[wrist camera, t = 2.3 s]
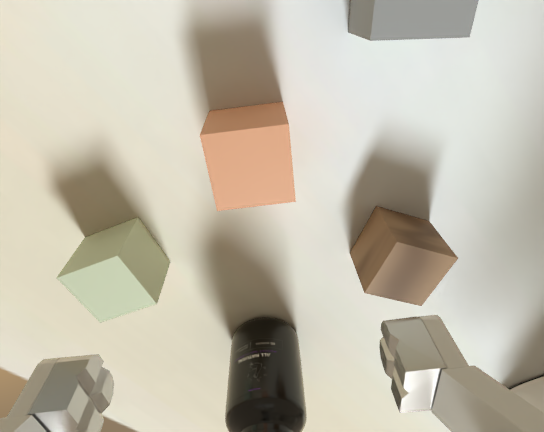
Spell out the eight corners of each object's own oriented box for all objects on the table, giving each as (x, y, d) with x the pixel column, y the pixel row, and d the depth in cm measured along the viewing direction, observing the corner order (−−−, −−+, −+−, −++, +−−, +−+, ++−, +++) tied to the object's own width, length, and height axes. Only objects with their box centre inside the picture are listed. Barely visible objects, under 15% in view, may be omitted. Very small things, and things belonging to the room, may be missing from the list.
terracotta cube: (282, 101, 24) (288, 123, 20) (289, 168, 26) (295, 201, 22) (209, 110, 24) (199, 135, 20) (223, 176, 27) (217, 210, 22)
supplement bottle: (256, 304, 34) (256, 438, 24) (310, 331, 36) (333, 462, 26) (218, 344, 36) (204, 478, 26) (271, 366, 39) (277, 497, 29)
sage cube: (138, 216, 28) (117, 255, 24) (170, 261, 31) (156, 303, 26) (85, 236, 29) (56, 277, 25) (121, 278, 31) (100, 322, 27)
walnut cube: (428, 220, 29) (457, 258, 25) (399, 264, 32) (421, 305, 28) (375, 205, 28) (397, 241, 24) (349, 252, 31) (364, 292, 27)
